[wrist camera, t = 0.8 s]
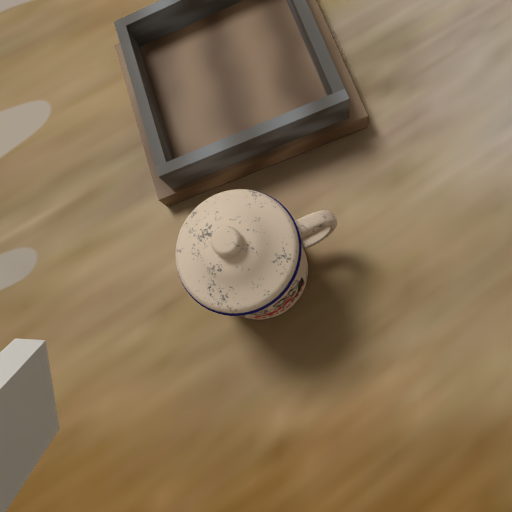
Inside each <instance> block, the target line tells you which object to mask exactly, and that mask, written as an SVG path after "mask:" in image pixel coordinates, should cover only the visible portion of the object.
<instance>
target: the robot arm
mask: <svg viewBox="0 0 512 512" xmlns="http://www.w3.org/2000/svg"><path fill="white" fill-rule="evenodd" d="M58 430H59V422H58V415H57V409H56V403H55V397H54V390H53V384H52V378H51V372H50V366H49V359H48V353H47V347H46V341H45V340H31V339H14V340H13V341H12V342H11V343H10V344H9V345H8V346H7V347H6V348H5V349H4V350H3V351H1V352H0V512H6V511H7V509H8V508H9V506H10V505H11V503H12V501H13V500H14V498H15V497H16V495H17V494H18V492H19V491H20V489H21V487H22V486H23V484H24V483H25V481H26V480H27V478H28V477H29V475H30V473H31V472H32V470H33V469H34V467H35V466H36V464H37V463H38V461H39V460H40V458H41V456H42V455H43V453H44V452H45V450H46V449H47V447H48V446H49V444H50V442H51V441H52V439H53V438H54V436H55V435H56V433H57V432H58Z"/></svg>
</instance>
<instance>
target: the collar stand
mask: <svg viewBox="0 0 512 512" xmlns="http://www.w3.org/2000/svg"><path fill="white" fill-rule="evenodd" d="M114 23H115V27H116V30H117V34H118V37H119V41H120V43H119V44H116V45H115V47H116V50H117V54H118V57H119V61H120V65H121V68H122V72H123V75H124V79H125V82H126V86H127V89H128V93H129V97H130V100H131V104H132V107H133V111H134V114H135V118H136V121H137V125H138V128H139V132H140V136H141V139H142V143H143V146H144V150H145V153H146V157H147V160H148V164H149V167H150V171H151V175H152V178H153V182H154V185H155V189H156V192H157V196H158V199H159V201H161V202H162V203H163V204H165V205H166V206H167V207H168V206H170V205H173V204H175V203H178V202H180V201H183V200H185V199H188V198H190V197H193V196H195V195H198V194H200V193H203V192H205V191H208V190H210V189H213V188H216V187H218V186H221V185H223V184H226V183H228V182H231V181H233V180H236V179H238V178H241V177H243V176H246V175H248V174H251V173H253V172H256V171H258V170H261V169H263V168H266V167H268V166H271V165H273V164H276V163H278V162H281V161H283V160H286V159H288V158H291V157H293V156H296V155H298V154H301V153H303V152H306V151H308V150H311V149H313V148H316V147H318V146H321V145H323V144H326V143H328V142H331V141H333V140H336V139H339V138H341V137H344V136H346V135H349V134H351V133H354V132H356V131H359V130H361V129H364V128H366V127H367V122H368V114H367V112H366V110H365V108H364V106H363V103H362V101H361V99H360V97H359V94H358V92H357V90H356V88H355V86H354V83H353V81H352V79H351V77H350V74H349V72H348V70H347V68H346V66H345V63H344V61H343V59H342V57H341V54H340V52H339V50H338V48H337V46H336V43H335V41H334V39H333V37H332V34H331V32H330V30H329V28H328V25H327V23H326V21H325V19H324V17H323V14H322V12H321V10H320V8H319V5H318V3H317V1H316V0H160V1H158V2H156V3H153V4H151V5H149V6H147V7H145V8H143V9H141V10H138V11H136V12H134V13H132V14H130V15H128V16H125V17H123V18H121V19H119V20H117V21H115V22H114Z"/></svg>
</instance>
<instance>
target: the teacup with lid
mask: <svg viewBox="0 0 512 512" xmlns="http://www.w3.org/2000/svg"><path fill="white" fill-rule="evenodd" d="M336 225H337V220H336V218H335V216H334V214H333V213H332V212H331V211H329V210H322V211H317V212H314V213H311V214H308V215H306V216H304V217H302V218H300V219H298V220H296V221H294V219H293V217H292V216H291V214H290V213H289V212H288V210H287V209H286V208H285V207H284V206H283V205H282V204H281V203H280V202H278V201H277V200H276V199H274V198H272V197H271V196H269V195H266V194H264V193H261V192H258V191H254V190H247V189H234V190H228V191H224V192H221V193H218V194H215V195H213V196H211V197H209V198H208V199H206V200H205V201H203V202H202V203H200V204H199V205H198V206H197V207H196V208H195V209H194V210H193V211H192V212H191V213H190V215H189V216H188V217H187V219H186V220H185V222H184V224H183V226H182V228H181V230H180V233H179V235H178V239H177V244H176V266H177V270H178V274H179V277H180V279H181V282H182V284H183V286H184V287H185V289H186V290H187V292H188V293H189V294H190V296H191V297H192V298H193V299H194V300H195V301H196V302H198V303H199V304H200V305H202V306H203V307H205V308H207V309H208V310H211V311H213V312H216V313H219V314H223V315H229V316H241V317H245V318H249V319H256V320H261V319H269V318H272V317H275V316H278V315H280V314H282V313H284V312H285V311H287V310H288V309H289V308H291V307H292V306H293V305H294V304H295V303H296V302H297V300H298V299H299V298H300V296H301V294H302V293H303V291H304V288H305V285H306V282H307V278H308V262H307V257H306V254H305V251H304V250H305V249H307V248H309V247H311V246H313V245H315V244H317V243H319V242H320V241H322V240H324V239H325V238H326V237H328V236H329V235H330V234H331V233H332V232H333V231H334V229H335V228H336Z"/></svg>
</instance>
